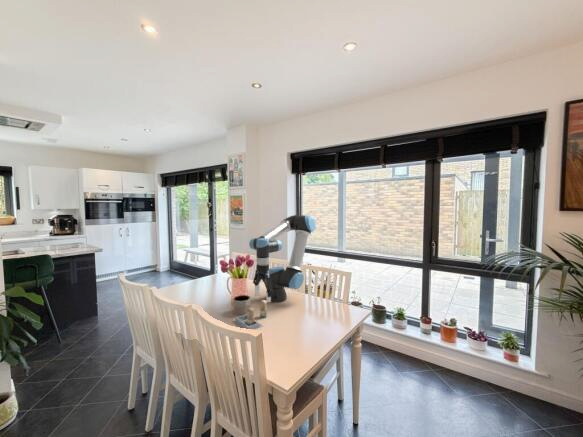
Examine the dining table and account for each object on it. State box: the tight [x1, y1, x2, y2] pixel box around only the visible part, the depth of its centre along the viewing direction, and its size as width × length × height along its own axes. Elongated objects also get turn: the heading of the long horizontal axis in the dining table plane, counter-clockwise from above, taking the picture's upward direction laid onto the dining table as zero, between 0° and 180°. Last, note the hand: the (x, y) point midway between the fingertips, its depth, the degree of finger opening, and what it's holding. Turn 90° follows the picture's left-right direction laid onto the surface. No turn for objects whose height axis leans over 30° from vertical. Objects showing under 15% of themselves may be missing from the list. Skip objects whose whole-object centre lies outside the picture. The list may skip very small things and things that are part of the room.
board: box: [232, 314, 264, 330], centre depth 149 cm, size 12×16×3 cm
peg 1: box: [247, 307, 255, 326], centre depth 145 cm, size 4×4×10 cm
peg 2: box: [259, 299, 267, 319], centre depth 158 cm, size 4×4×10 cm
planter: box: [232, 294, 252, 316], centre depth 165 cm, size 11×11×10 cm
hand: (262, 298), depth 157 cm, fingers open, 13 cm apart
